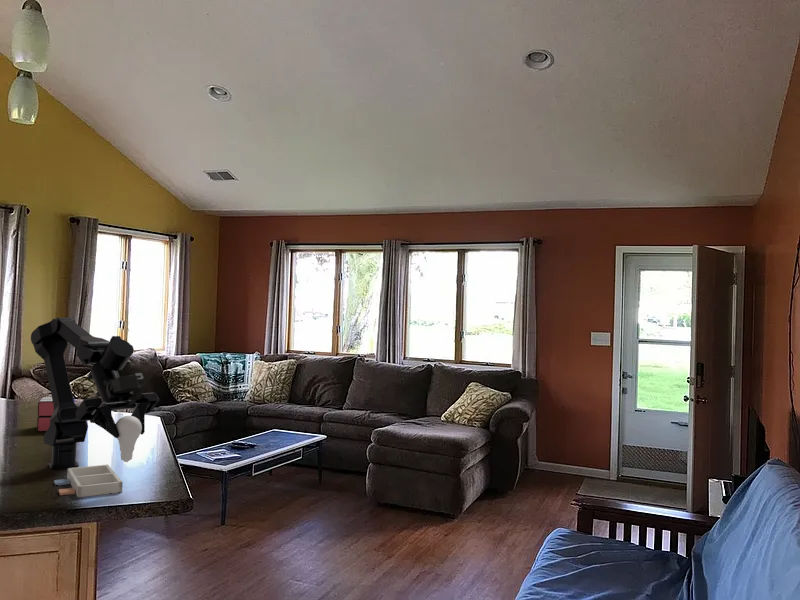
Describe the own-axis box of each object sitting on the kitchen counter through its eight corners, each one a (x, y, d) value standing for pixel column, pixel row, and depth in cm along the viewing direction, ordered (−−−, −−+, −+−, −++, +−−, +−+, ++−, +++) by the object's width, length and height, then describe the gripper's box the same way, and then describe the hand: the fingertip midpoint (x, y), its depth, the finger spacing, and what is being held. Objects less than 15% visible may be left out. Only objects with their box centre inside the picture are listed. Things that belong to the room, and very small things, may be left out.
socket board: (52, 479, 163) (53, 469, 163) (107, 473, 170) (108, 464, 170) (62, 499, 148) (62, 488, 148) (122, 492, 155) (122, 482, 155)
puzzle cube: (70, 431, 220) (72, 401, 220) (36, 432, 217) (38, 401, 217) (73, 425, 230) (74, 396, 230) (40, 426, 226) (42, 397, 226)
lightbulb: (144, 459, 161) (147, 414, 161) (132, 466, 155) (135, 419, 154) (120, 457, 161) (122, 412, 161) (107, 464, 155) (109, 417, 155)
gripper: (84, 364, 153) (106, 419, 146) (157, 360, 167) (180, 410, 161) (65, 393, 157) (86, 448, 151) (138, 387, 172) (160, 437, 166)
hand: (130, 435), depth 157 cm, fingers closed on lightbulb, 6 cm apart
